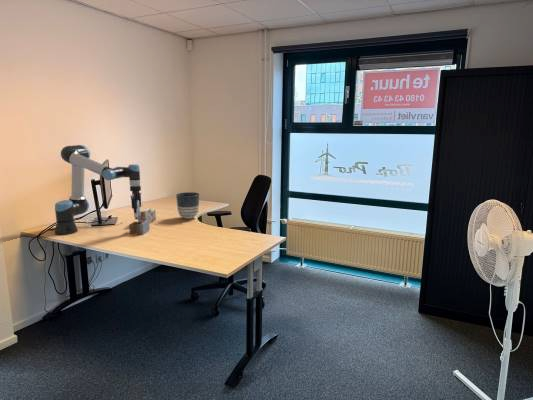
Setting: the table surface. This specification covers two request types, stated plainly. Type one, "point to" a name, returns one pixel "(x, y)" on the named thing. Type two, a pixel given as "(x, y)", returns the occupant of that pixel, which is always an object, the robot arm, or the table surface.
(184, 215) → the planter
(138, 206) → the dowel
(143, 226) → the wall
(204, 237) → the table surface
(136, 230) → the slider block
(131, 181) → the robot arm
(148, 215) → the stack of blocks
